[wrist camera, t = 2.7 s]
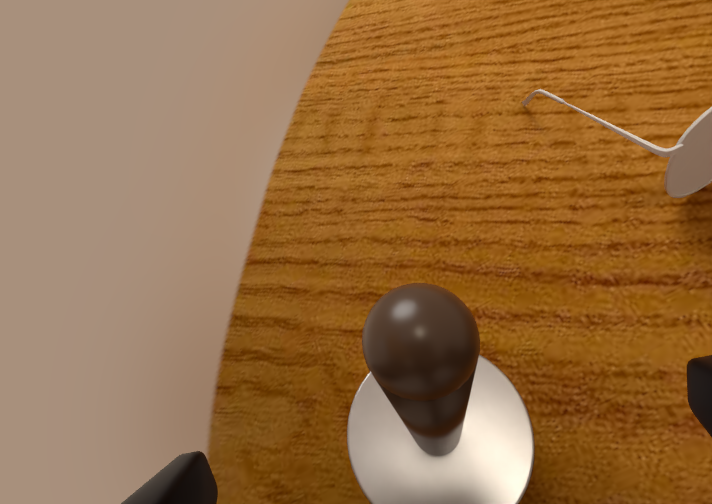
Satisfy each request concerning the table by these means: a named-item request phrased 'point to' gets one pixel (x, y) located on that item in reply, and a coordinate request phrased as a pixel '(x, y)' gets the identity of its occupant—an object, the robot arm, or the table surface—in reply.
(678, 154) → the sunglasses
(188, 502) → the robot arm
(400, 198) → the table surface
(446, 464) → the silver joystick
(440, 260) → the table surface
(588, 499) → the table surface
